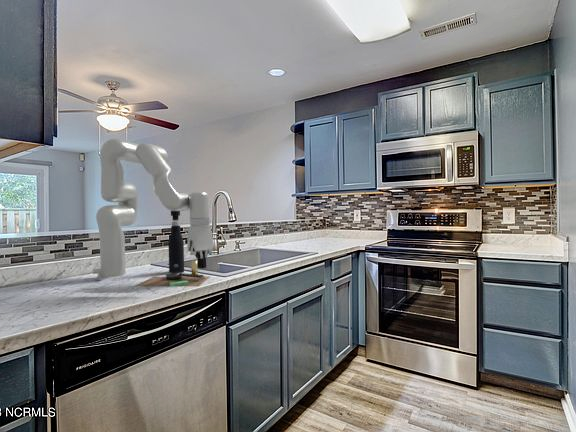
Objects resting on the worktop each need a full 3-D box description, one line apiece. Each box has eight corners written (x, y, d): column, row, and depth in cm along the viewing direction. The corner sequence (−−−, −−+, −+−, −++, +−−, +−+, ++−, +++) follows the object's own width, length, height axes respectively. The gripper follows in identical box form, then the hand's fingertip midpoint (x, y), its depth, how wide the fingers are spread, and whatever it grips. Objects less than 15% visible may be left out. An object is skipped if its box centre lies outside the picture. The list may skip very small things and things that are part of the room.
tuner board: (133, 290, 117) (133, 283, 117) (153, 280, 133) (153, 274, 133) (198, 290, 116) (198, 283, 116) (210, 280, 132) (210, 274, 132)
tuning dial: (162, 279, 127) (162, 260, 127) (172, 276, 133) (172, 258, 133) (197, 282, 122) (197, 262, 122) (206, 278, 128) (206, 260, 127)
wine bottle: (179, 273, 147) (177, 208, 146) (187, 275, 143) (185, 208, 142) (166, 275, 142) (164, 208, 141) (174, 277, 138) (172, 208, 137)
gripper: (206, 221, 137) (208, 264, 137) (178, 224, 124) (181, 270, 124) (219, 221, 133) (221, 265, 133) (192, 223, 120) (194, 272, 120)
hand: (202, 267), depth 129 cm, fingers closed
